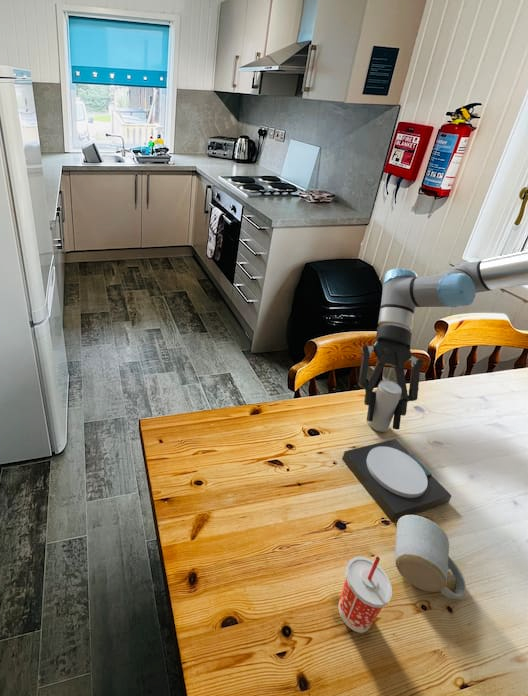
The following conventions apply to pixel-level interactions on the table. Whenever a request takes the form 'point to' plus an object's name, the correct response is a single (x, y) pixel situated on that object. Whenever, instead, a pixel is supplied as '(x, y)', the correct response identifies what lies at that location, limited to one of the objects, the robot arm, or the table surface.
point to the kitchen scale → (396, 479)
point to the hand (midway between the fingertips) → (382, 424)
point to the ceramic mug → (425, 556)
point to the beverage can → (385, 405)
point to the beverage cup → (363, 593)
